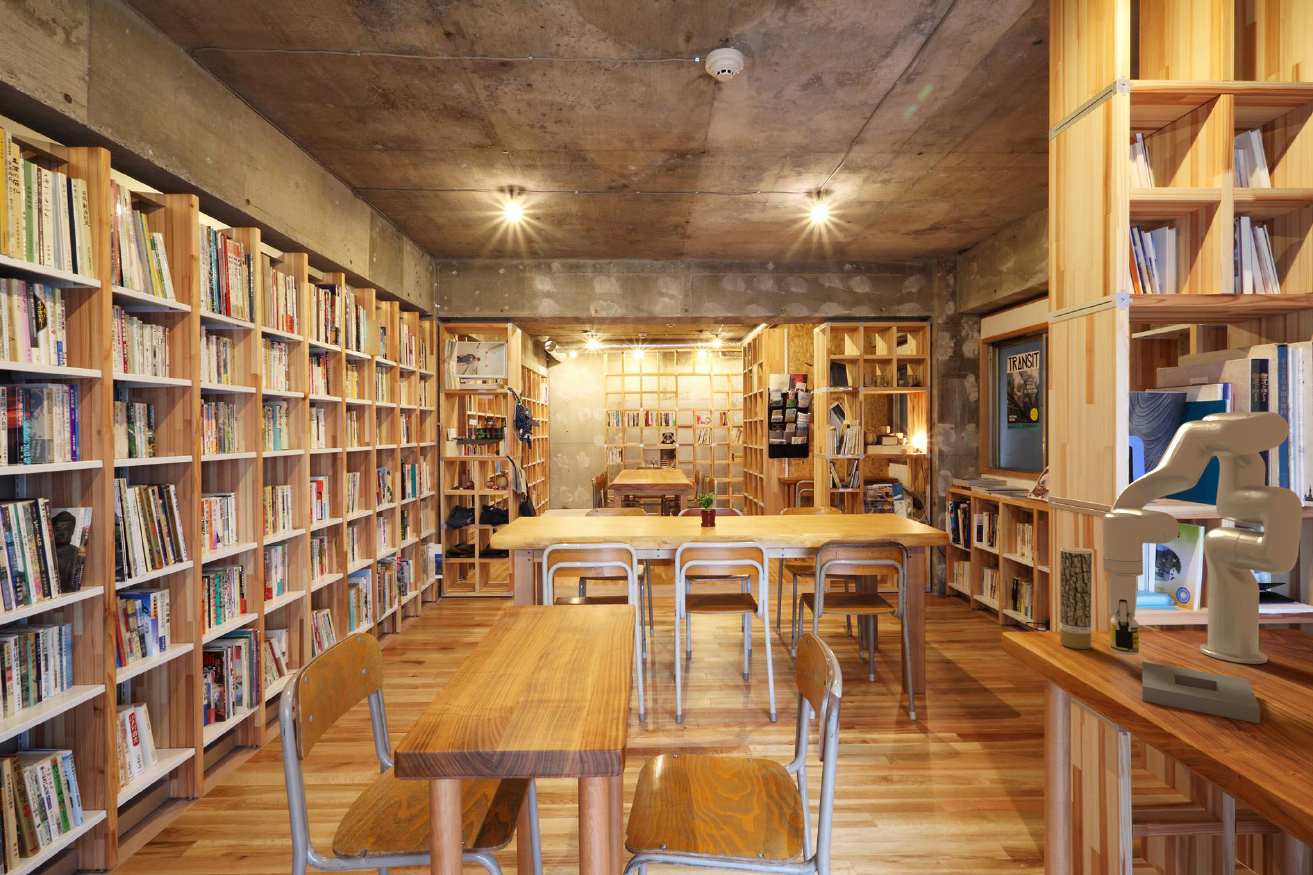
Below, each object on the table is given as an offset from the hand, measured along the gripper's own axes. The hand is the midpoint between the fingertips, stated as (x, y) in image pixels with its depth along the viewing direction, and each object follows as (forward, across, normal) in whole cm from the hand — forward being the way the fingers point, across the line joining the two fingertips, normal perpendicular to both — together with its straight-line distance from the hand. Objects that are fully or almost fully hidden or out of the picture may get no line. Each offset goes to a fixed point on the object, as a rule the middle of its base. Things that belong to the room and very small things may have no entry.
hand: (1124, 642), depth 155 cm
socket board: (+6, +11, +12) cm, 18 cm away
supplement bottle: (+2, 0, 0) cm, 2 cm away
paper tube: (+7, -13, -11) cm, 18 cm away
